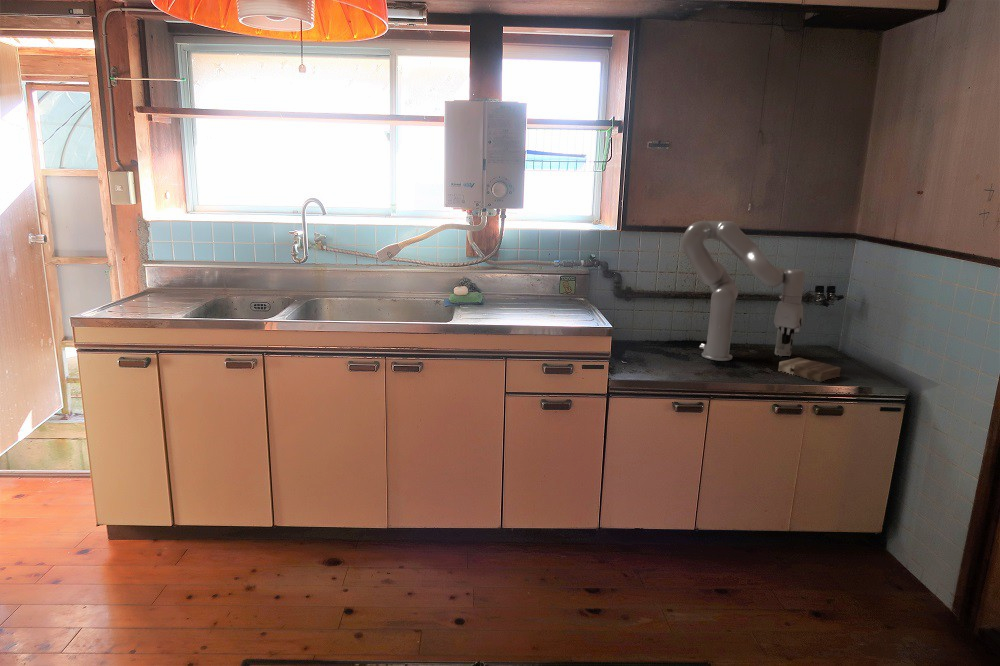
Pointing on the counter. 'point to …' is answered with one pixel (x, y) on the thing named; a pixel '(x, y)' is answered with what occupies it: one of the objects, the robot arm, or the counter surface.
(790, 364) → the maple plank
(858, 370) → the counter surface
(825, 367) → the brown grooved flat slab
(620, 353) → the counter surface
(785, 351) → the spray can
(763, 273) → the robot arm
